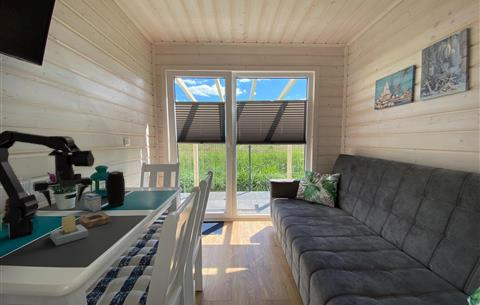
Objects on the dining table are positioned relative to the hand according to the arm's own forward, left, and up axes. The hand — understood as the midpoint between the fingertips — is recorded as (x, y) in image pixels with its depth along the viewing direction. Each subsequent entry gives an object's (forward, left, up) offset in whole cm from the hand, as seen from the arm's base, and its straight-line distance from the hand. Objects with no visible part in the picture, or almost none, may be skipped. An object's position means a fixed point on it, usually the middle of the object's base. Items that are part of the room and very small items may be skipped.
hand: (64, 204), depth 93 cm
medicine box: (+17, +25, -12) cm, 33 cm away
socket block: (-1, -7, -12) cm, 14 cm away
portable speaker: (+29, +25, -12) cm, 40 cm away
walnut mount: (+11, +3, -12) cm, 17 cm away
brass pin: (-1, -7, -12) cm, 14 cm away
